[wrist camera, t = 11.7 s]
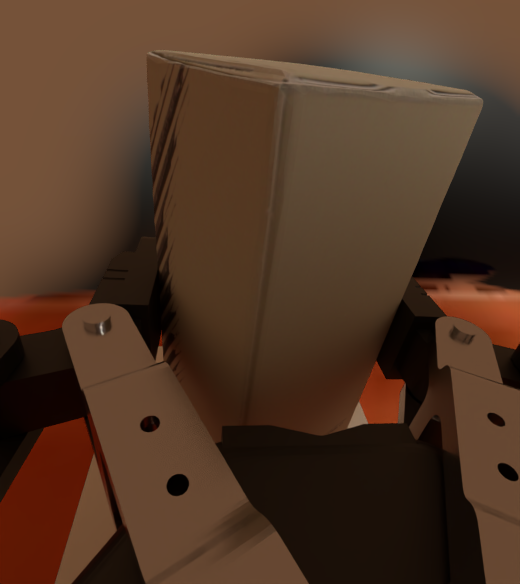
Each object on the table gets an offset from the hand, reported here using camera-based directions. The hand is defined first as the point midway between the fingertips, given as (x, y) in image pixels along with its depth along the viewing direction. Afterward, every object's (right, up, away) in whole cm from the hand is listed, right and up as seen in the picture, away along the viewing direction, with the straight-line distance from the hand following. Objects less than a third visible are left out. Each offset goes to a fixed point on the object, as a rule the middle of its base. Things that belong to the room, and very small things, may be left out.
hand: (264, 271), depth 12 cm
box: (-1, -7, +2) cm, 8 cm away
